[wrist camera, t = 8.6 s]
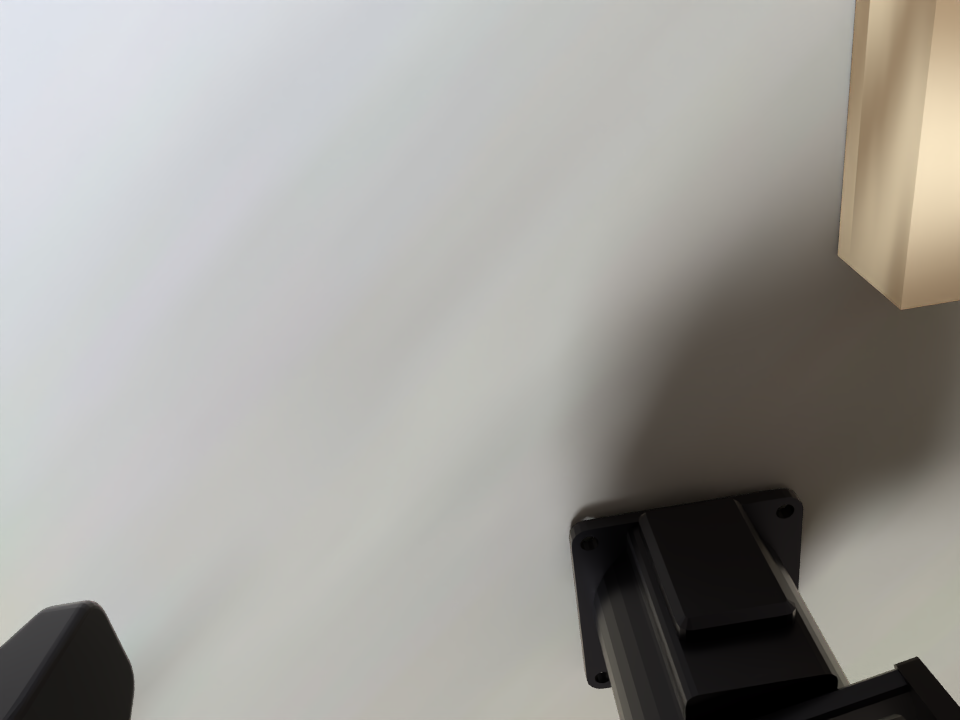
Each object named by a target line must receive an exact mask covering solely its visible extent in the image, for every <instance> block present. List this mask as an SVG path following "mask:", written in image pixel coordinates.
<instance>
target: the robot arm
mask: <svg viewBox="0 0 960 720" xmlns="http://www.w3.org/2000/svg"><path fill="white" fill-rule="evenodd" d="M785 504H788V505H787V506H785V507H784V508H782V509H778V508H779V507H780V506H782V505H785ZM802 518H803V506H802V503H801V501H800V499H799V498H798V496H797V495H796V494H795V493H794V491H793V490H790V489H787V488H780V489H774V490H768V491H762V492H755V493H749V494H743V495H737V496H731V497H725V498H719V499H713V500H707V501H701V502H694V503H688V504H682V505H676V506H670V507H664V508H658V509H652V510H646V511H639V512H633V513H627V514H621V515H615V516H609V517H603V518H597V519H591V520H585V521H582V522H579V523H577V524H576V525H574V526H573V527H572V529H571V530H570V534H569V541H570V549H571V558H572V566H573V575H574V584H575V592H576V601H577V609H578V618H579V626H580V635H581V643H582V652H583V661H584V669H585V674H586V678H587V681H588V684H589V685H590V686H592V687H594V688H597V689H603V688H610V687H612V690H613V694H614V698H615V701H616V705H617V709H618V713H619V717H620V720H960V707H959V706H958V704H957V703H956V702H955V701H954V700H953V698H952V697H951V696H950V695H949V694H948V692H947V691H946V690H945V689H944V688H943V686H942V685H941V684H940V683H939V682H938V680H937V679H936V678H935V677H934V676H933V674H932V673H931V672H930V671H929V670H928V668H927V667H926V666H925V665H924V664H923V662H922V661H921V660H920V659H919V658H918V657H915V658H912V659H909V660H906V661H903V662H900V663H897V664H895V665H894V668H895V669H893V670H890V671H887V672H885V673H882V674H879V675H876V676H873V677H870V678H867V679H865V680H862V681H859V682H856V683H853V684H850V683H849V681H848V679H847V677H846V676H845V674H844V672H843V670H842V669H841V667H840V665H839V663H838V661H837V660H836V658H835V656H834V654H833V652H832V651H831V649H830V647H829V645H828V643H827V642H826V640H825V638H824V636H823V635H822V633H821V631H820V629H819V627H818V626H817V624H816V622H815V620H814V618H813V617H812V615H811V613H810V611H809V609H808V608H807V606H806V604H805V602H804V601H803V599H802V597H801V595H800V593H799V592H798V585H799V568H800V552H801V535H802ZM586 537H594V538H593V539H591V540H589V541H582V540H583V539H584V538H586ZM601 672H602V673H601ZM133 698H134V674H133V670H132V666H131V663H130V661H129V659H128V657H127V655H126V653H125V651H124V649H123V647H122V645H121V643H120V641H119V639H118V637H117V635H116V633H115V631H114V629H113V627H112V625H111V623H110V621H109V619H108V617H107V615H106V613H105V611H104V610H103V608H102V607H101V606H100V605H99V604H98V603H96V602H94V601H80V602H73V603H67V604H61V605H55V606H51V607H48V608H45V609H43V610H42V611H40V612H39V613H38V614H37V615H35V616H34V617H33V618H32V619H31V620H30V621H29V622H28V623H27V624H25V625H24V626H23V627H22V628H21V629H20V630H19V631H18V632H17V633H15V634H14V635H13V636H12V637H11V638H10V639H9V640H8V641H7V642H5V643H4V644H3V645H2V646H1V647H0V720H131V712H132V705H133Z"/></svg>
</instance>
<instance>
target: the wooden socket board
mask: <svg viewBox="0 0 960 720" xmlns="http://www.w3.org/2000/svg"><path fill="white" fill-rule="evenodd" d="M838 256H839V257H840V258H841V259H842V260H843V261H844V262H846V263H847V264H848V265H849V266H850V267H851V268H853V269H854V270H855V271H856V272H857V273H858V274H860V275H861V276H862V277H863V278H864V279H865V280H867V281H868V282H869V283H870V284H871V285H872V286H873V287H875V288H876V289H877V290H878V291H879V292H880V293H882V294H883V295H884V296H885V297H886V298H887V299H889V300H890V301H891V302H892V303H893V304H894V305H896V306H897V307H898V308H899V309H900V310H904V309H910V308H916V307H922V306H928V305H934V304H940V303H946V302H952V301H959V300H960V0H856V9H855V23H854V36H853V50H852V64H851V78H850V92H849V105H848V119H847V133H846V147H845V161H844V174H843V188H842V202H841V216H840V230H839V243H838Z"/></svg>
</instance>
